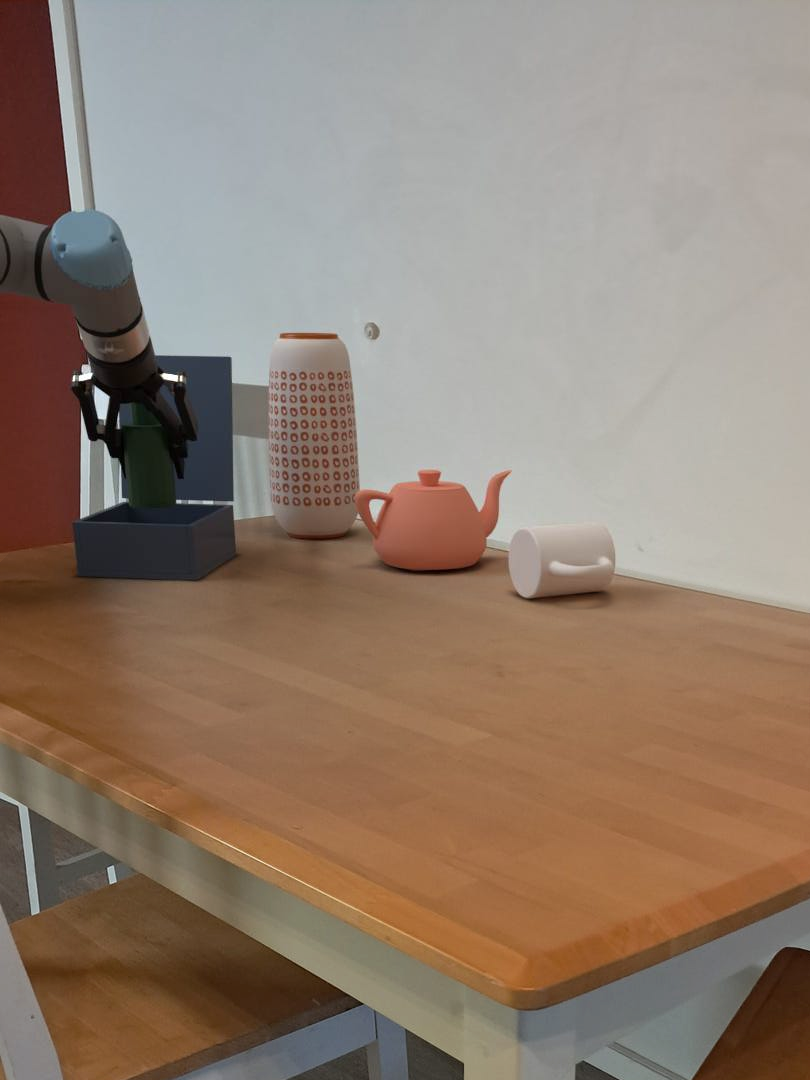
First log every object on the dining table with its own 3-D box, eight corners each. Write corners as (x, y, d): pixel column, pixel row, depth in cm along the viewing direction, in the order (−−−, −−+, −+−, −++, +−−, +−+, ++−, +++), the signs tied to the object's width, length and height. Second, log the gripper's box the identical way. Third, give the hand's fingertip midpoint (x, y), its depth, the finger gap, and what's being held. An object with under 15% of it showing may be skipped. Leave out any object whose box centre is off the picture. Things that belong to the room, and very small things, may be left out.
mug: (506, 591, 157) (508, 522, 154) (579, 584, 162) (582, 517, 158) (557, 612, 147) (560, 539, 144) (633, 604, 151) (637, 533, 148)
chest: (196, 580, 161) (192, 525, 158) (78, 576, 162) (71, 522, 160) (236, 554, 177) (233, 504, 174) (128, 551, 178) (123, 501, 176)
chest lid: (229, 356, 169) (244, 363, 176) (116, 354, 171) (134, 361, 177) (232, 501, 174) (245, 502, 180) (121, 498, 175) (139, 499, 182)
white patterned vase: (353, 542, 186) (347, 335, 175) (264, 541, 187) (252, 334, 176) (366, 527, 199) (361, 332, 187) (282, 526, 199) (272, 331, 188)
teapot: (490, 549, 183) (492, 460, 178) (531, 569, 170) (534, 474, 165) (342, 558, 175) (339, 465, 170) (372, 579, 163) (370, 480, 158)
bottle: (122, 507, 163) (111, 400, 158) (138, 500, 169) (128, 397, 163) (167, 508, 162) (158, 401, 157) (182, 502, 168) (174, 397, 163)
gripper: (29, 366, 144) (78, 494, 165) (200, 367, 145) (227, 494, 167) (35, 314, 147) (83, 447, 168) (202, 316, 148) (229, 447, 169)
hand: (154, 470), depth 167 cm, fingers closed on bottle, 6 cm apart
